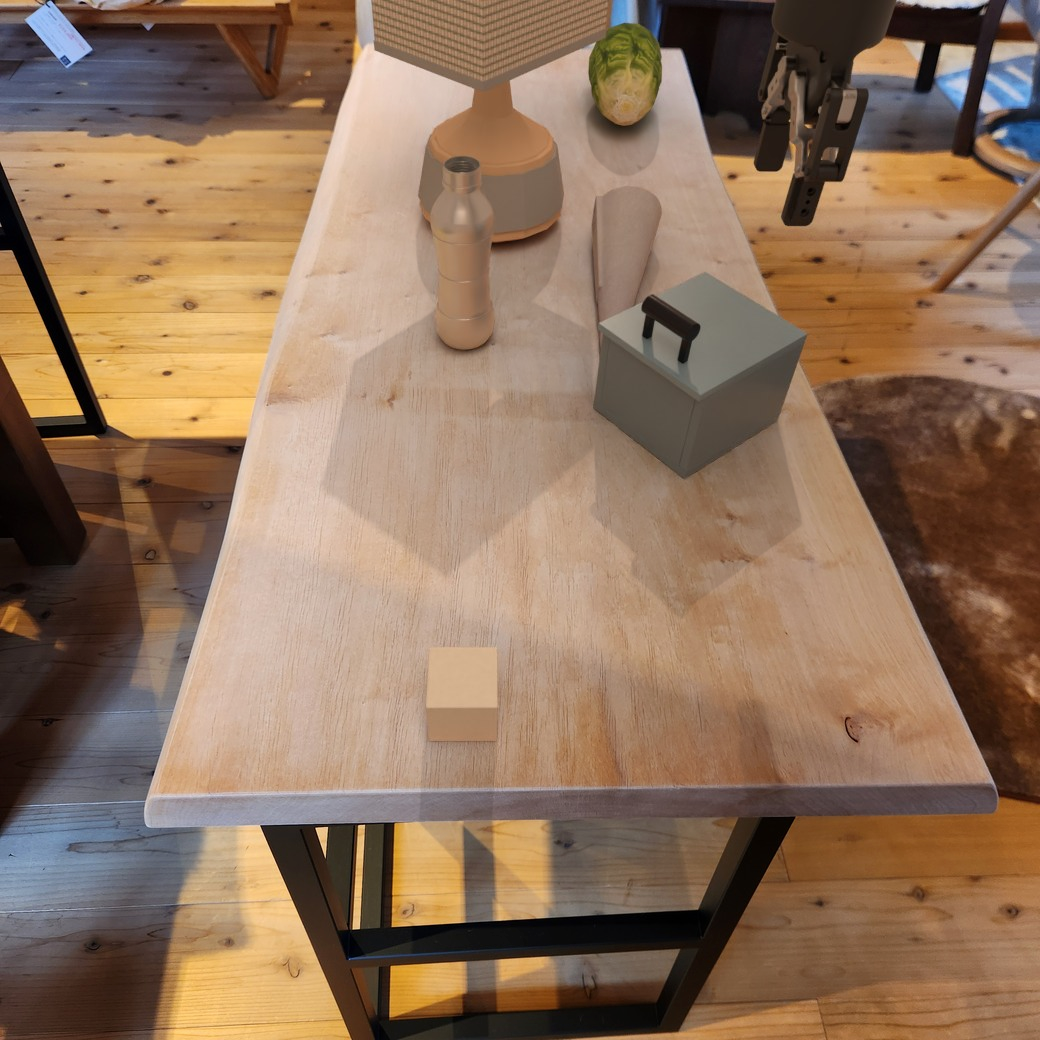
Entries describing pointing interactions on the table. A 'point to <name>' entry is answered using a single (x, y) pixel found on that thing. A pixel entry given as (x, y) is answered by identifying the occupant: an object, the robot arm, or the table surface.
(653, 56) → the lettuce
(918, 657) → the table surface
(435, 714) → the tan cube
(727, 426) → the grey box
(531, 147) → the desk lamp
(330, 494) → the table surface
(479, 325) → the plastic bottle
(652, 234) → the beige long cone
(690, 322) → the lid
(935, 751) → the table surface
